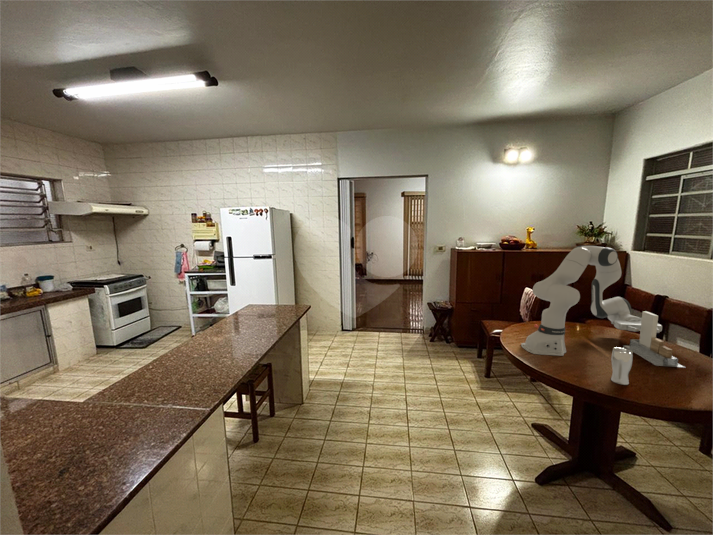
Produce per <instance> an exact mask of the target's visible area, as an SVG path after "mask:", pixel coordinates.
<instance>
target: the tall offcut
mask: <svg viewBox="0 0 713 535" xmlns="http://www.w3.org/2000/svg"><path fill="white" fill-rule="evenodd" d="M660 346H665V341H664V340H663V339H660V338H657V337H656V338H652V342H651V349H652V350H653V351H655V352H657V353H659V347H660Z"/></svg>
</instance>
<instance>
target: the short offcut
mask: <svg viewBox="0 0 713 535" xmlns="http://www.w3.org/2000/svg"><path fill="white" fill-rule="evenodd" d="M659 354H661V355H663V356H664V357H666V358H672V356H673V349H672V348H670V347H667V346H666V345H664V346H660V347H659Z"/></svg>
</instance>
